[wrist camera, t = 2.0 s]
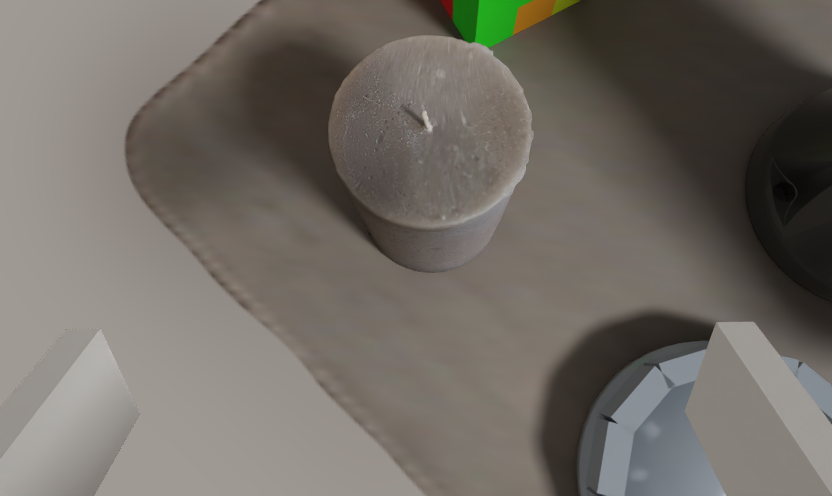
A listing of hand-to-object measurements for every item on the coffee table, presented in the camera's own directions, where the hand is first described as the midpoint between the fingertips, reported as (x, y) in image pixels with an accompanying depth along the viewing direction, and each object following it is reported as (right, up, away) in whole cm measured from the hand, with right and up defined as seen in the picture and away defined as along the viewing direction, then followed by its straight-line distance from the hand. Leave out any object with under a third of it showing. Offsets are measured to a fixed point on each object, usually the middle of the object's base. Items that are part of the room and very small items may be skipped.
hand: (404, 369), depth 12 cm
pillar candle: (+2, +6, +26) cm, 27 cm away
